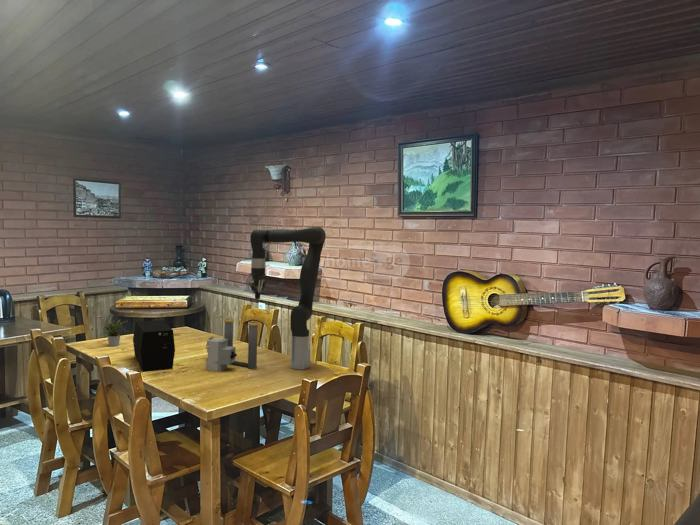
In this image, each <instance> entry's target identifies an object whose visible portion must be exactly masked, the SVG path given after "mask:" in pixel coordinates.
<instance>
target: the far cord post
mask: <svg viewBox="0 0 700 525" xmlns="http://www.w3.org/2000/svg"><path fill="white" fill-rule="evenodd" d="M223 322H224V338H223V339H228V346H231V347H234V346H233V345H234V344H233V343H234V322H235V318H233V317H231V318H224V319H223ZM230 365H233V364H232V363H231V364H230Z"/></svg>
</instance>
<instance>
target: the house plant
mask: <svg viewBox="0 0 700 525" xmlns="http://www.w3.org/2000/svg"><path fill="white" fill-rule="evenodd" d="M112 320H113V321H111V320H109V322H110V324H111V326H110V324H108V323H107V322H103V323H105V324H104V325H103V326H104V328H105V329H104V331H107V332H106V333H109V334H107V341H108V347H109V348H110V347H113V348H114V347H118V346H119V345H120V339H121V334H119V333H121V332H122V331H124V328H121V329H120V327H121V326H122V325H123V324H124V323H127V320H126V321H124V322H123V321H121V319H119V320H117V321H116V324H115V320H114V319H112Z"/></svg>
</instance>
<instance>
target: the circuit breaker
mask: <svg viewBox="0 0 700 525" xmlns="http://www.w3.org/2000/svg"><path fill="white" fill-rule="evenodd" d="M205 346H206V350H207V349H208V353H207V360H205V370H206V371H213V372H222V371H223V370H226V369H227V368H228V366H229V365H232V364H231V363H233V362H235V361H236V357H237V356H238V354H237V352H236V349H237V347H236V346H233V347H231V346H228V339H224V338H220V337H218V338H216V337H214V338H212V339H211V340H209V339H208V340H206V345H205Z"/></svg>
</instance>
